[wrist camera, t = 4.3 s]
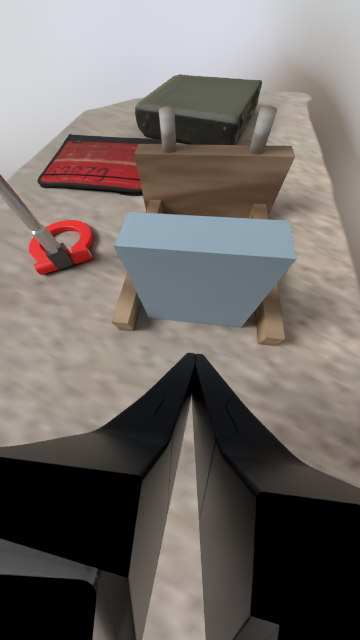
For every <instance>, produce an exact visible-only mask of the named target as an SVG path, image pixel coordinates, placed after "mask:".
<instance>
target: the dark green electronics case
mask: <svg viewBox="0 0 360 640" xmlns="http://www.w3.org/2000/svg"><path fill="white" fill-rule="evenodd" d="M261 84H262V81H261V80H244V79H229V78H217V77H202V76H189V75H181V74H180V75H177V76H174V77H172V78H171V79H169V80H168V81H167V82H165V83H164V84H162V85H161V86H160V87H158V88H157V89H156V90H154V91H153V92H152V93H150V94H149V95H147V96H146V97H145V98H144V99H142V100H141V101H140V102H138V103H137V105H136V108H135V115H136V121H137V124H138V127H139V129H140V131H141V132H142V133H143V134H144V136H147V137H149V138H155V139H161V128H160V118H159V109H160V108H162V107H173V108H174V110H175V134H176V142H179V143H185V144H191V145H235V144H236V142H237V141H238V139H239V138H240V135H241V133H242V132H243V130H244V128H245V127H246V124H247V122H248V120H249V119H250V118H251V115H252V114H253V111H255V108H256V106H257V103H258V98H259V93H260V89H261ZM238 129H239V131H238ZM238 135H239V136H238Z"/></svg>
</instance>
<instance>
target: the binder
mask: <svg viewBox="0 0 360 640" xmlns="http://www.w3.org/2000/svg"><path fill="white" fill-rule="evenodd" d="M138 144H162V139H144V138H118V137H101V136H84V135H72V134H69V135H68V137H67V139H66V140H65V141H64V143H63V145H62V146H61V148H60V149H59V150H58V152H57V153H56V155H55V156H54V157H53V159H52V160H51V161H50V163H49V164H48V166H47V167H46V168H45V170H44V171H43V173H42V174H41V175H40V176H39V178H38V183H39V184H40V186H41V187H43V188H69V189H84V190H100V191H111V192H118V193H121V194H122V195H129V196H142V195H143V193H142V188H141V184H140V179H139V174H138V170H137V165H136V160H135V156H134V153H135V151H136V149H137V146H138Z"/></svg>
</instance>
